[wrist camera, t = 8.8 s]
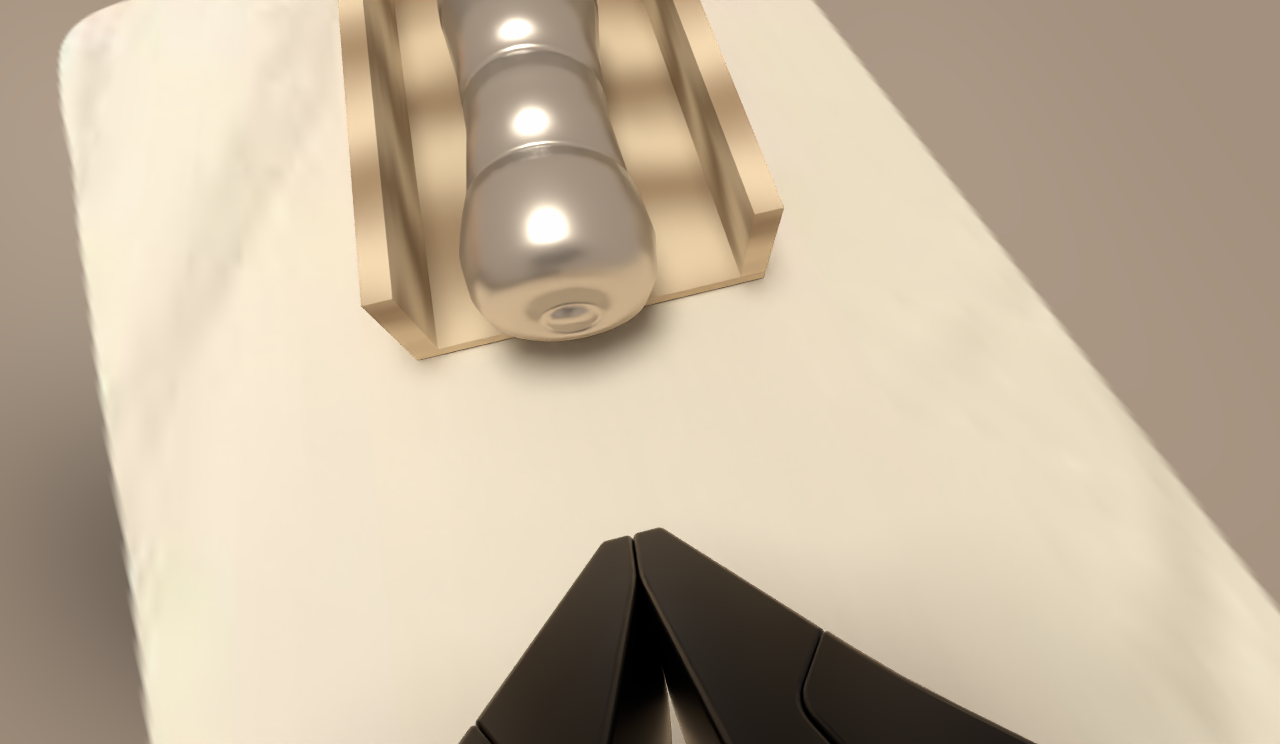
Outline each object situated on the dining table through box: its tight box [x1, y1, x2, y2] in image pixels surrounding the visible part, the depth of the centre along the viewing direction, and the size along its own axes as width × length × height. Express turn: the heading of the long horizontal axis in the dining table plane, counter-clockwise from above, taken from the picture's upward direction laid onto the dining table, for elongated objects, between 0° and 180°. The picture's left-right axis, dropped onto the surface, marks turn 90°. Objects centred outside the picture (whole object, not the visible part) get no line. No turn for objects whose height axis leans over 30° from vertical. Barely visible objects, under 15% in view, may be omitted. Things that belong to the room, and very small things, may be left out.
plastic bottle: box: [437, 0, 657, 341], centre depth 23 cm, size 6×7×20 cm
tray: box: [338, 0, 784, 360], centre depth 25 cm, size 23×14×4 cm, turn 14°
